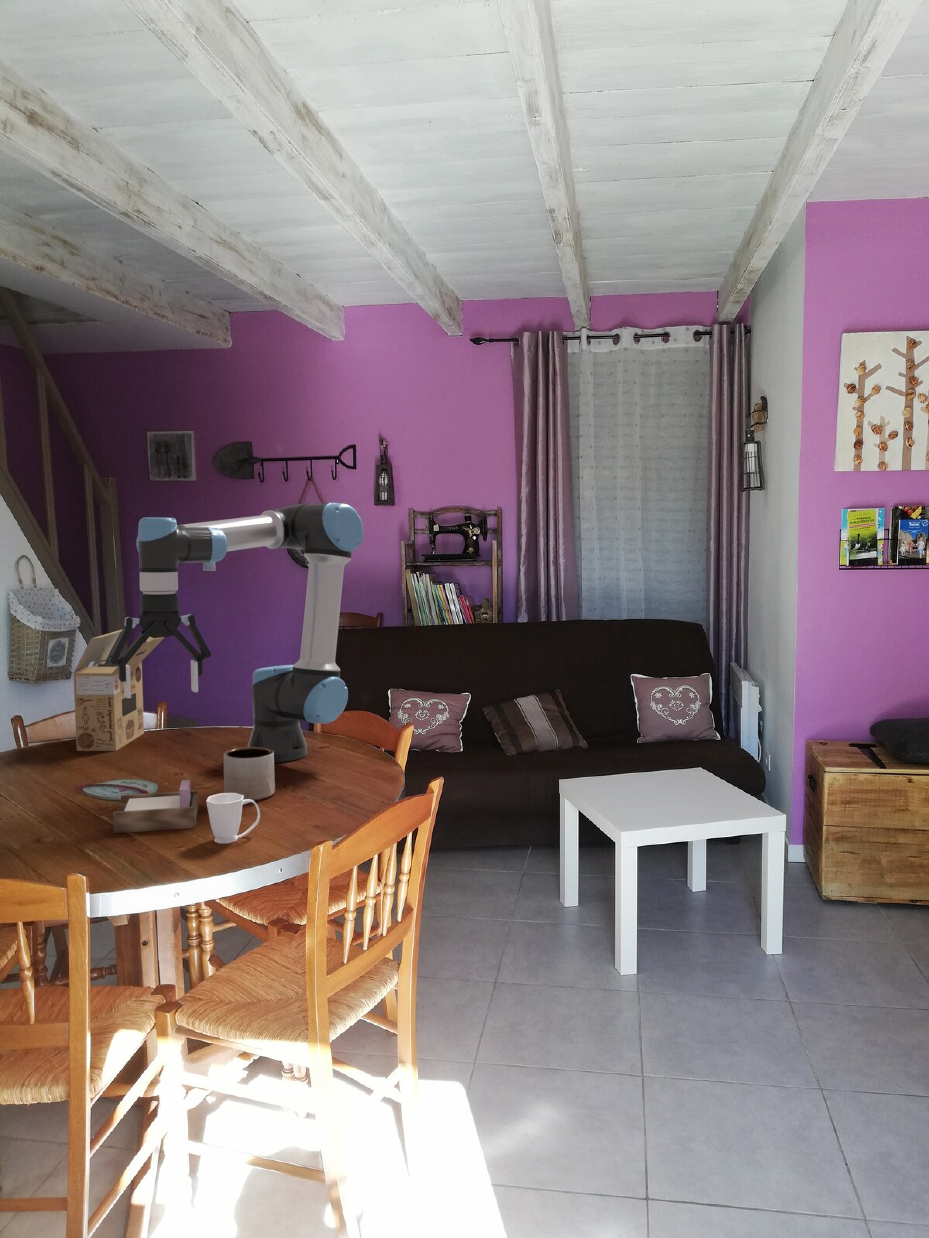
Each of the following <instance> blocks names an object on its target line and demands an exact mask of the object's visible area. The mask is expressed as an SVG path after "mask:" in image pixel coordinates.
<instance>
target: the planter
mask: <svg viewBox="0 0 929 1238" xmlns="http://www.w3.org/2000/svg"><path fill="white" fill-rule="evenodd" d="M275 775H276V774H275V762H274V751H273V750H272V749H269V748H265V747H247V746H244V747H237V748H232V749H229V750H227V751H225V752H224V753H223V793H237V794H240V795H243V796H244V798H243V800H245V799H251V800H253V801H254V802H257V801H262V800H266V799H268V798H271V796H272V795H274V794H275V793H276V783H275V780H276V779H275V777H276V776H275Z"/></svg>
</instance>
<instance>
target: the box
mask: <svg viewBox="0 0 929 1238" xmlns="http://www.w3.org/2000/svg"><path fill="white" fill-rule="evenodd" d="M122 630H123V629H119V630H115V631H113V632H110V633H109V632H108V633H106V634H102V635H99V636H95V637H92V638H90V640H89V642H88V643H87V646H86V647H85V650H84V651H83V653H82V655H81V657H80V659H79V661H78V663H77V665H76V667H75V668H74V671H73V693H74V694H73V696H74V697H73V698H74V717H75V719H74V721H75V736H76V738H75V739H76V740H75V743H76V751H78V752H79V751H80V752H83V751H84V752H91V751H92V752H97V751H98V752H112V751H113V752H116V751H118V750H120V749H121V748H123V747H125V746H126V745H128V744H129V743H131V742H132V741H134V740H136V739H137V738H139V737H141V736H143V734H144V733H145V722H144V721H145V720H144V694H143V692H144V689H143V665H142V663H143V662H142V661H143V660H144V659H145V658H146V657H147V656H148V655H149V654H150V653H151V652H152V651H153V650H154V649H155V648H156V647H157V646H158V645H159V644H160V643H161V641H163V640H164V638H165V637H159V638H152V637H149V638H148V639H147V640H146V641H145V642H144V643H143V644H142V646H141V647H140V648H139V649H138V650H137V652H136V653H135V654H134V655H133V657H132V658H131V659H130V660H129V662H128V663H127V664H126V665H129V666H130V679H131V698H126V697H125V694H124V682H121V681H120V680H119V671H118V665H117V664H112V663H111V662H109V660H108V658H109V656H110V654H111V652H112V651H111V650H113V648H114V646H115V644H116V642H117V640H118V638H119V636H120V634H121V632H122ZM165 639H166V638H165ZM140 653H141V654H140ZM93 662H94V663H93ZM91 663H92V666H90V664H91Z"/></svg>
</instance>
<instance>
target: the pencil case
mask: <svg viewBox="0 0 929 1238" xmlns="http://www.w3.org/2000/svg"><path fill="white" fill-rule="evenodd" d="M198 792H199V790H190V795H191V802H190V807H179V808H164V809H149V810H134V811H124V810H125V808H126V805H127V803H128V801H129V799H133V798H149V797H165V796H180V793H179V791H168V792H167V791H166V792H165V791H164V792H152V793H151V792H149V793H136V794H135V793H134V794H121V795H120V805H119V810H120V811H113V812H112V821H113V834H125V833H136V832H137V833H138V832H139V833H140V832H150V831H151V832H153V831H169V830H178V829H180V830H181V829H194V828H196V825H197V818H198V812H199V793H198Z"/></svg>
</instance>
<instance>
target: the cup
mask: <svg viewBox="0 0 929 1238" xmlns="http://www.w3.org/2000/svg"><path fill="white" fill-rule="evenodd" d="M243 798H244V796H243V795H240V794H237V793H224V792H220V793H216V794H213V795H209V796H208V797H207V798H206V801H205V802H206V807H207V808H206V809H207V812H208V818H209V819H208V820H209V823H210V824H209V825H210V827H211V831H212V833H213V836H214V837H215V838H214V843H218V844H230V843H234V842H237V840H238V839H241V838H243V837H245V836H247V835H248V834H249V833H250V832H252V831H253V829H255V828H256V826H257V825H258V824H259V822H260V820H261V819H260V818H261V812H260V811H261V810H260V808H259V804H257V803H256V801H253V800H251V799H245V800H243ZM248 803H253V804H254V806H255V807H256V808H255V809H256V811H257V817H256V820H255V821H254V822H253V824H252V825H251V826H250V827H249V828H248V829H246V830H245V831H244V832H243V833H241V834H238V833H239V830H240V826H241V821H242V813H243V805H246V804H248Z"/></svg>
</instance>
